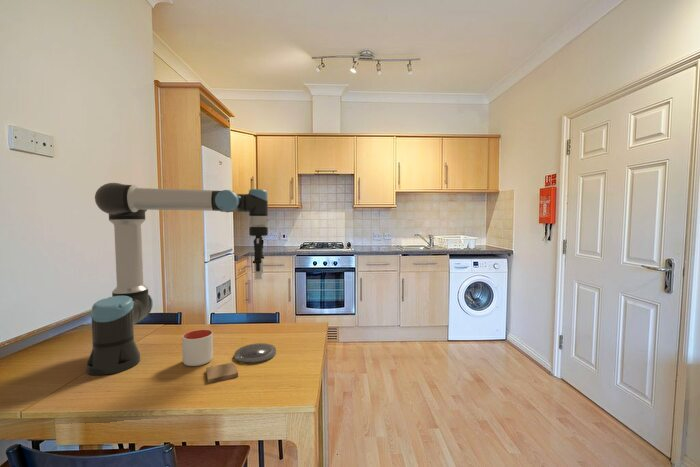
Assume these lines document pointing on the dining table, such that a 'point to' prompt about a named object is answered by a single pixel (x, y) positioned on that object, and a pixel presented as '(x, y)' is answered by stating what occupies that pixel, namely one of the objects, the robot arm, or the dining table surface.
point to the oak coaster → (221, 372)
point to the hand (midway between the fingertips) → (259, 276)
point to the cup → (197, 347)
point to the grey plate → (255, 353)
